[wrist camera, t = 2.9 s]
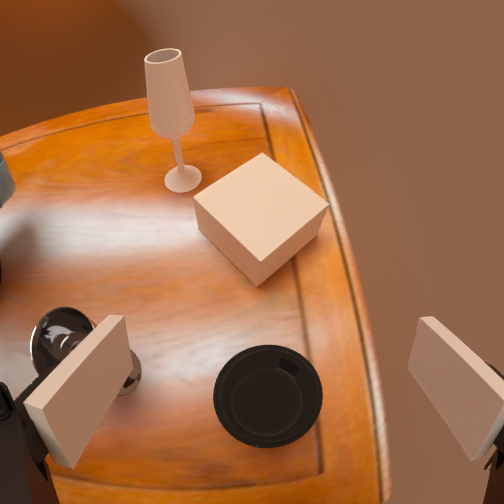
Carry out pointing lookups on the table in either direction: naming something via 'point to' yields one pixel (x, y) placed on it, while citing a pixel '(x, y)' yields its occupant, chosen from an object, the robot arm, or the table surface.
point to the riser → (259, 216)
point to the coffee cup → (267, 396)
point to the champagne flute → (171, 111)
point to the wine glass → (69, 342)
